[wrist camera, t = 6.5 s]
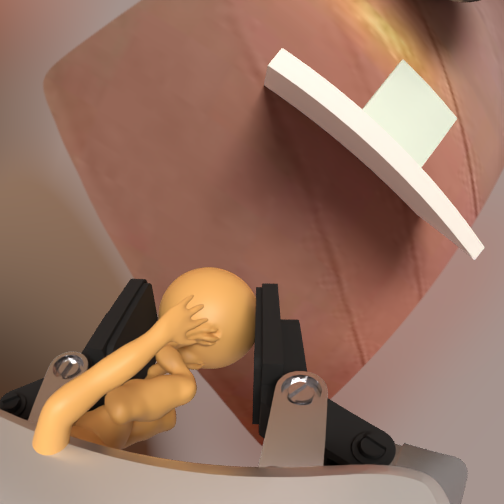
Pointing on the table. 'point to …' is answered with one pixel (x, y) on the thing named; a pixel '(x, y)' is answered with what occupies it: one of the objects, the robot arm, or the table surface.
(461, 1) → the decorative egg
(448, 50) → the table surface
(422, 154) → the mat
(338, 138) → the screen
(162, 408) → the figurine
